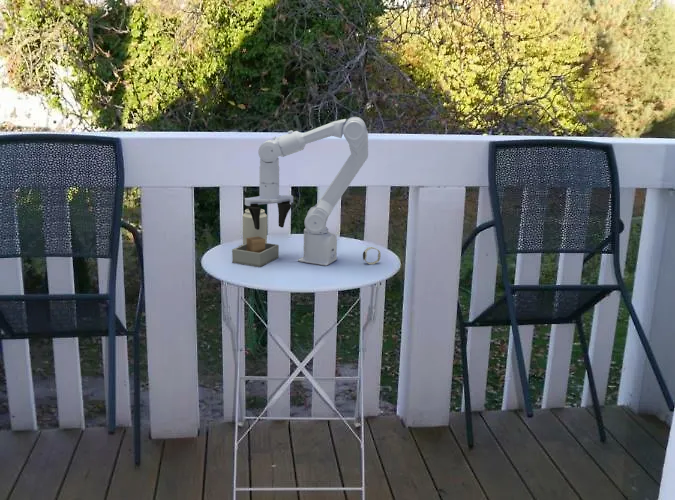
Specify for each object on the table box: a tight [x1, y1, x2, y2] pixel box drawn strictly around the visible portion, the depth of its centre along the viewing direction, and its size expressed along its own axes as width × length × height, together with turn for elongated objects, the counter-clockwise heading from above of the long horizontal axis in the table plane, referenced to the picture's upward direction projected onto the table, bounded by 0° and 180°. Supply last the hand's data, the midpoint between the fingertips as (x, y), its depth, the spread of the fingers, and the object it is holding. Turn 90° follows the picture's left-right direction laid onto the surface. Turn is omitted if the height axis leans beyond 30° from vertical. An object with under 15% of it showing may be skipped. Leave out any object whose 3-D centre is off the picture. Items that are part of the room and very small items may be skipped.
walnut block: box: [247, 236, 265, 253], centre depth 214 cm, size 4×4×6 cm
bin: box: [231, 242, 280, 268], centre depth 215 cm, size 9×11×4 cm
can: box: [242, 208, 268, 245], centre depth 227 cm, size 8×8×12 cm
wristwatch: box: [362, 246, 381, 265], centre depth 214 cm, size 3×5×5 cm, turn 104°
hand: (269, 227), depth 215 cm, fingers open, 7 cm apart
